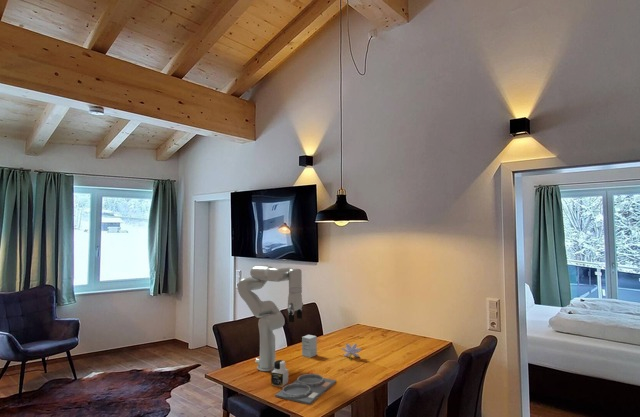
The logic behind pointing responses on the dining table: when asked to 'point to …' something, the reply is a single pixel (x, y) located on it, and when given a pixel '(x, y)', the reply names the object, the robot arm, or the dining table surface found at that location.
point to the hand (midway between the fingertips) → (295, 320)
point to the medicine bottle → (279, 374)
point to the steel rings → (300, 384)
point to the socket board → (314, 391)
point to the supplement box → (309, 346)
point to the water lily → (351, 350)
